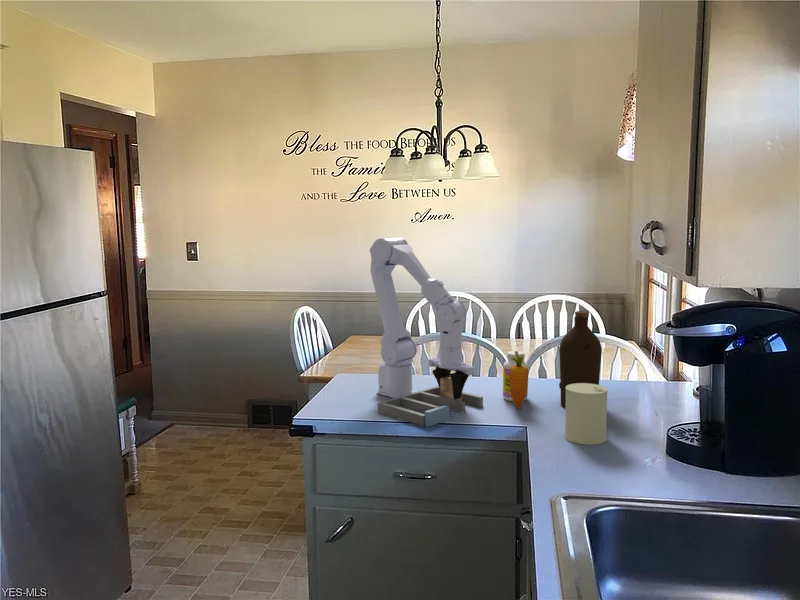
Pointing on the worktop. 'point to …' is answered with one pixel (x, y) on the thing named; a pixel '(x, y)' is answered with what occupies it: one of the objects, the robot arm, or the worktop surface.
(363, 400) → the worktop surface
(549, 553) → the worktop surface
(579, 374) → the olive oil
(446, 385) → the tan rectangular block
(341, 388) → the worktop surface
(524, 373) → the carrot
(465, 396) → the gray divided frame
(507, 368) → the supplement bottle
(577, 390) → the can
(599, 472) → the worktop surface
